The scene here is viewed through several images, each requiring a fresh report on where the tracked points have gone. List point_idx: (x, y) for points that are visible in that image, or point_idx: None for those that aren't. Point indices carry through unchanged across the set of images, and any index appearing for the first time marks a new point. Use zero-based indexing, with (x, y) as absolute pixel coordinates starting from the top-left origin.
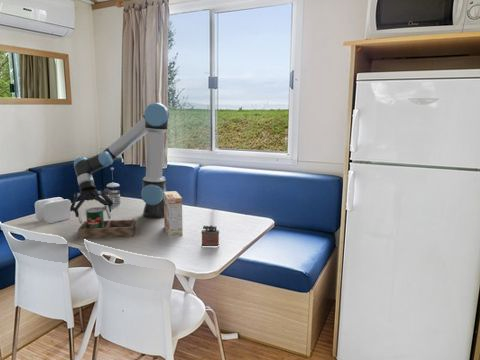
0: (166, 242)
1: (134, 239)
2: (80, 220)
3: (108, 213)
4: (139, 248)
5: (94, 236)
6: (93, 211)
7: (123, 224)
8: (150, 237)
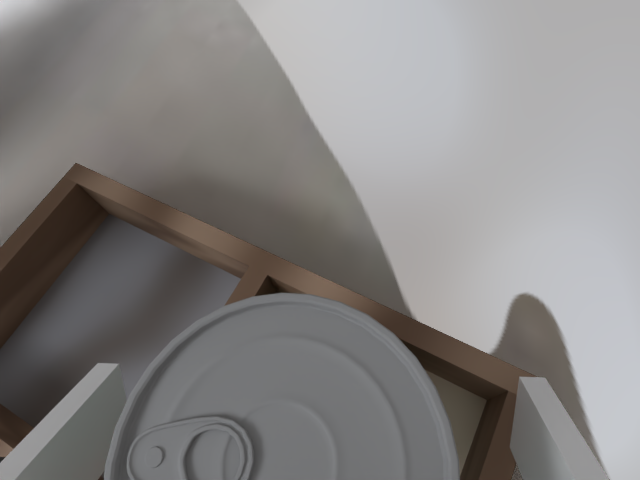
0: (44, 37)
1: (142, 149)
2: (542, 378)
3: (87, 411)
4: (198, 27)
5: None
6: (324, 384)
7: (22, 430)
8: (47, 135)
